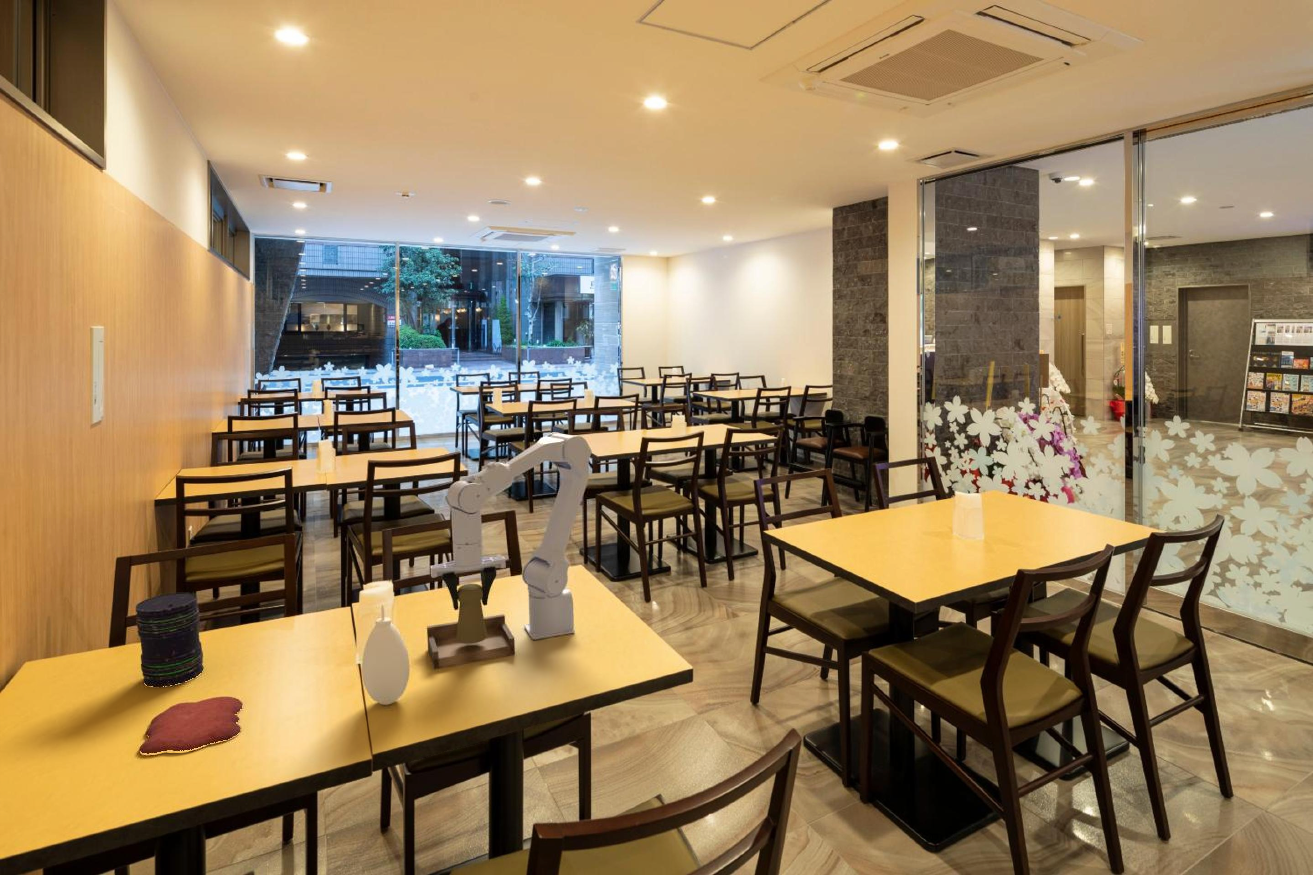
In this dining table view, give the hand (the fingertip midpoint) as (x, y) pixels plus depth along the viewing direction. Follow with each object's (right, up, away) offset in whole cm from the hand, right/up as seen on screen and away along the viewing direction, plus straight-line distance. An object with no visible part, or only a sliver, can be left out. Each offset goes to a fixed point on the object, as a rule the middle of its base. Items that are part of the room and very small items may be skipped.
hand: (470, 605), depth 144 cm
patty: (-39, -15, -25) cm, 49 cm away
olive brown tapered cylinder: (0, -7, 0) cm, 7 cm away
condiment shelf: (-1, -10, +3) cm, 10 cm away
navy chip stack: (-55, -12, -7) cm, 57 cm away
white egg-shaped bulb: (-10, -13, -18) cm, 24 cm away
